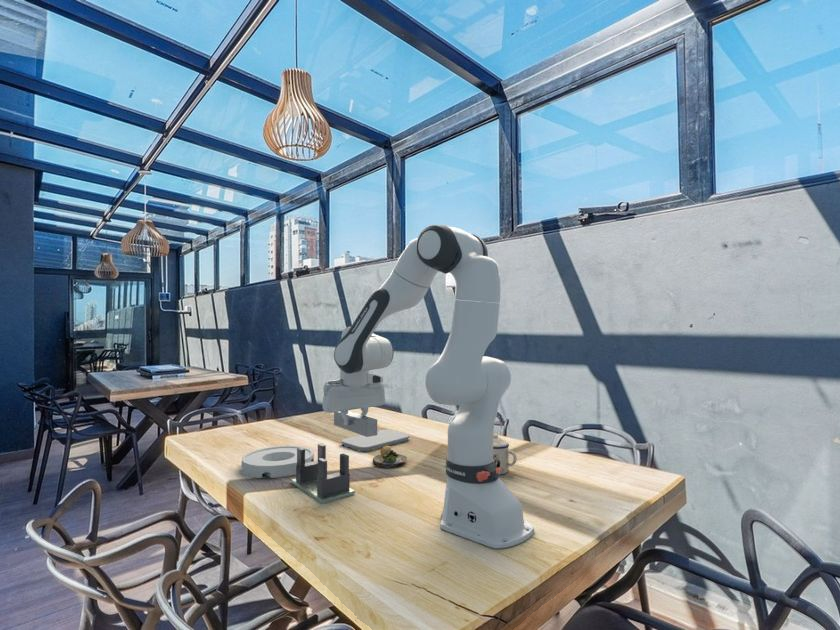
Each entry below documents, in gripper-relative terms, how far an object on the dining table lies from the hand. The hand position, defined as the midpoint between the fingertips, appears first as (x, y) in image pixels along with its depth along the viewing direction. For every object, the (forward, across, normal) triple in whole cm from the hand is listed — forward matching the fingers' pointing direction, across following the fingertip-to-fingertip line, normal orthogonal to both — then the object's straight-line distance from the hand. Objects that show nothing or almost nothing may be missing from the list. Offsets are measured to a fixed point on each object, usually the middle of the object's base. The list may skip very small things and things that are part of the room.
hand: (354, 423), depth 131 cm
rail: (+2, 0, 0) cm, 2 cm away
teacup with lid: (+17, +40, -23) cm, 49 cm away
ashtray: (+18, -13, +28) cm, 35 cm away
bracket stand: (+17, -11, 0) cm, 20 cm away
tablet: (+18, +29, +32) cm, 47 cm away
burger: (+18, +18, +7) cm, 26 cm away
